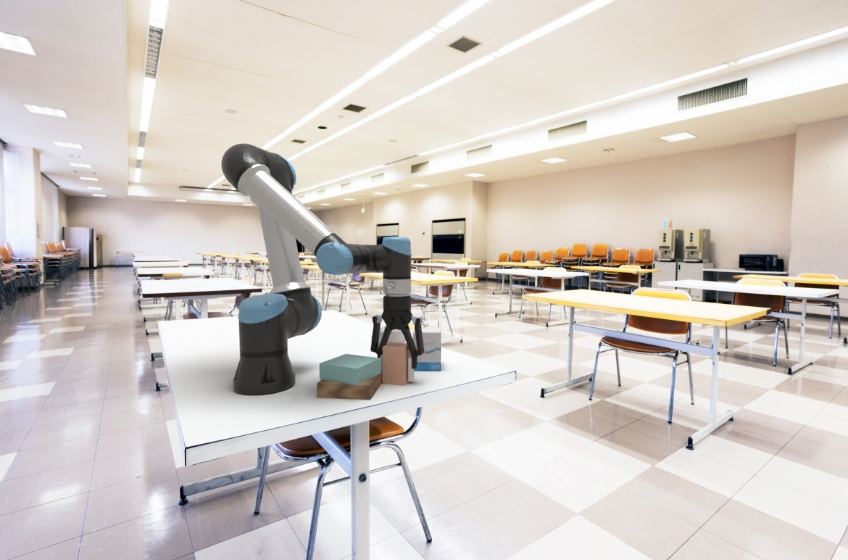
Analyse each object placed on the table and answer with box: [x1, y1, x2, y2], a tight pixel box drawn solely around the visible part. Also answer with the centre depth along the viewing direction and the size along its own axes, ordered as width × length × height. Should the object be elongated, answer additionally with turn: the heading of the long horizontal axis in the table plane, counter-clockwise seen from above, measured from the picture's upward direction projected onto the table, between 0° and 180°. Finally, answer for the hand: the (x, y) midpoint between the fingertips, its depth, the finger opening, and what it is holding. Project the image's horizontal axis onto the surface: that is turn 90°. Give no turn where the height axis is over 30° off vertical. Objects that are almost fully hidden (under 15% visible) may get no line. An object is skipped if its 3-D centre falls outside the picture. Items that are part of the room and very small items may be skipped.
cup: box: [378, 326, 406, 347], centre depth 123 cm, size 9×9×12 cm
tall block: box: [382, 342, 411, 387], centre depth 111 cm, size 6×6×10 cm
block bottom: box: [316, 370, 383, 401], centre depth 104 cm, size 13×13×4 cm
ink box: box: [412, 326, 442, 372], centre depth 125 cm, size 9×8×12 cm
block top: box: [318, 353, 381, 385], centre depth 104 cm, size 11×11×4 cm
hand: (397, 379), depth 111 cm, fingers open, 7 cm apart
